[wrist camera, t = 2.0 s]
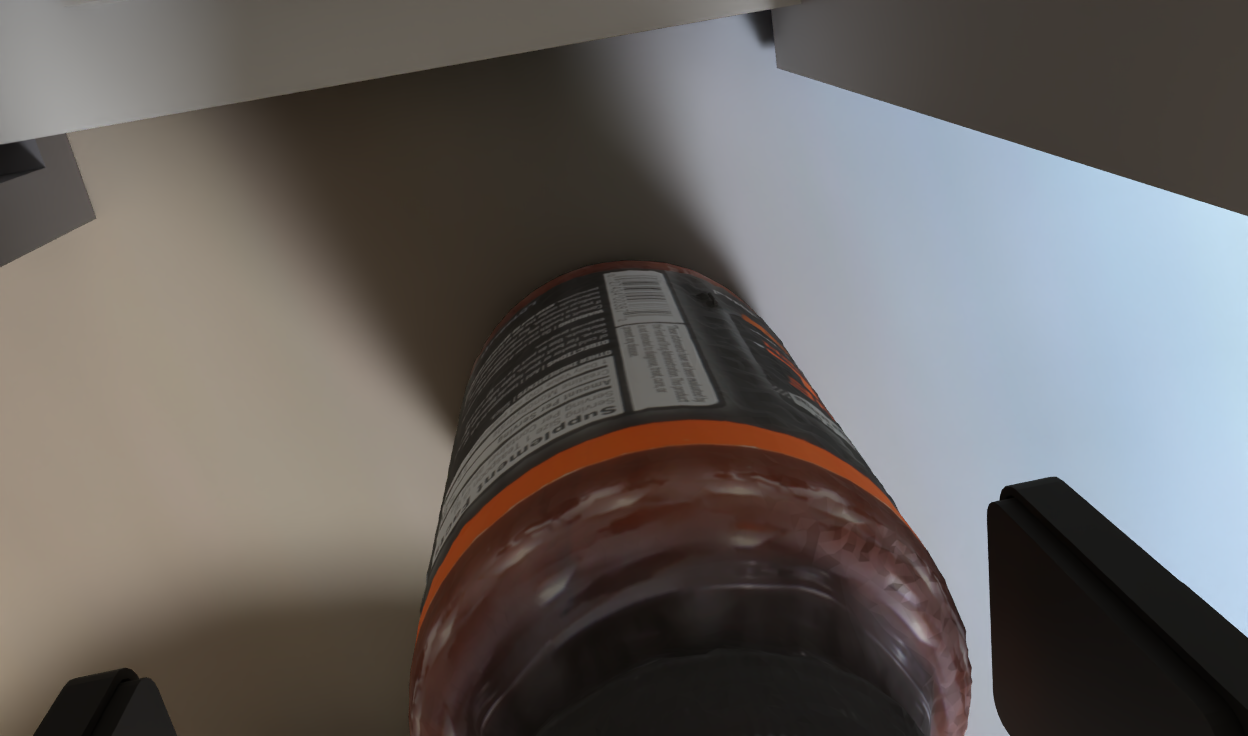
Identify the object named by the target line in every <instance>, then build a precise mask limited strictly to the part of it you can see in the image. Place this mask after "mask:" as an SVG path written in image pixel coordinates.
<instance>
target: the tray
mask: <svg viewBox="0 0 1248 736" xmlns="http://www.w3.org/2000/svg"><path fill="white" fill-rule="evenodd" d="M768 9H771V14H772V24H773V33H774V43H775V53H776V62H777V68H779V69H782V70H785V71H788V72H792V73H795V74H798V75H801V76H804V77H808V78H811V79H814V80H817V81H820V82H823V83H827V84H830V85H833V86H836V87H839V88H843V89H846V90H849V91H852V92H855V93H858V94H862V95H865V96H868V97H871V98H874V99H878V100H881V101H884V102H887V103H890V104H893V105H897V106H900V107H903V108H906V109H909V110H912V111H916V112H919V113H922V114H925V115H928V116H932V117H935V118H938V119H941V120H944V121H947V122H951V123H954V124H957V125H960V126H963V127H967V128H970V129H973V130H976V131H979V132H982V133H986V134H989V135H992V136H995V137H998V138H1002V139H1005V140H1008V141H1011V142H1014V143H1017V144H1021V145H1024V146H1027V147H1030V148H1033V149H1036V150H1040V151H1043V152H1046V153H1049V154H1052V155H1056V156H1059V157H1062V158H1065V159H1068V160H1071V161H1075V162H1078V163H1081V164H1084V165H1087V166H1091V167H1094V168H1097V169H1100V170H1103V171H1106V172H1110V173H1113V174H1116V175H1119V176H1122V177H1126V178H1129V179H1132V180H1135V181H1138V182H1141V183H1145V184H1148V185H1151V186H1154V187H1157V188H1160V189H1164V190H1167V191H1170V192H1173V193H1176V194H1180V195H1183V196H1186V197H1189V198H1192V199H1195V200H1199V201H1202V202H1205V203H1208V204H1211V205H1215V206H1218V207H1221V208H1224V209H1227V210H1230V211H1234V212H1237V213H1240V214H1243V215H1246V216H1248V0H0V144H6V143H12V142H18V141H23V140H29V139H35V138H40V137H46V136H52V135H57V134H63V133H69V132H74V131H80V130H86V129H91V128H97V127H103V126H109V125H114V124H120V123H126V122H131V121H137V120H143V119H148V118H154V117H160V116H165V115H171V114H177V113H182V112H188V111H194V110H200V109H205V108H211V107H217V106H222V105H228V104H234V103H239V102H245V101H251V100H256V99H262V98H268V97H274V96H279V95H285V94H291V93H296V92H302V91H308V90H313V89H319V88H325V87H330V86H336V85H342V84H347V83H353V82H359V81H365V80H370V79H376V78H382V77H387V76H393V75H399V74H404V73H410V72H416V71H421V70H427V69H433V68H438V67H444V66H450V65H456V64H461V63H467V62H473V61H478V60H484V59H490V58H495V57H501V56H507V55H512V54H518V53H524V52H530V51H535V50H541V49H547V48H552V47H558V46H564V45H569V44H575V43H581V42H586V41H592V40H598V39H603V38H609V37H615V36H621V35H626V34H632V33H638V32H643V31H649V30H655V29H660V28H666V27H672V26H677V25H683V24H689V23H694V22H700V21H706V20H712V19H717V18H723V17H729V16H734V15H740V14H746V13H751V12H757V11H763V10H768Z"/></svg>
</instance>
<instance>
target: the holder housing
mask: <svg viewBox="0 0 1248 736" xmlns="http://www.w3.org/2000/svg"><path fill="white" fill-rule="evenodd" d="M94 219H96V216H95V213H94V211H93V208H92V205H91V202H90V199H89V197H88V194H87V191H86V188H85V186H84V183H83V180H82V177H81V174H80V172H79V169H78V166H77V163H76V160H75V158H74V155H73V152H72V149H71V146H70V144H69V141H68V138H67V135H66V133H63V134H57V135H52V136H46V137H40V138H35V139H29V140H23V141H18V142H12V143H6V144H0V267H2V266H4V265H6V264H8V263H10V262H11V261H13V260H15V259H17V258H19V257H21V256H23V255H25V254H27V253H29V252H31V251H33V250H35V249H37V248H39V247H41V246H43V245H45V244H47V243H49V242H51V241H53V240H55V239H57V238H59V237H61V236H63V235H65V234H66V233H68V232H70V231H72V230H74V229H76V228H78V227H80V226H82V225H84V224H86V223H88V222H90V221H92V220H94Z"/></svg>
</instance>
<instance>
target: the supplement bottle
mask: <svg viewBox="0 0 1248 736" xmlns="http://www.w3.org/2000/svg"><path fill="white" fill-rule="evenodd" d="M971 669H972V667H971V664H970V661H969V658H968V648H967V645H966V630H965V627H964V625H963V622H962V620H961V618H960V615H959V613H958V611H957V608H956V606H955V603H954V601H953V598H952V596H951V594H950V592H949V590H948V587H947V584H946V581H945V579H944V577H943V576H942V574H941V573H940V571H939V570H938V568H937V566H936V565H935V563H934V561H933V559H932V557H931V556H930V554H929V552H928V551H927V550H926V548H925V547H924V545H923V544H922V543H921V541H920V540H919V538H918V537H917V536H916V534H915V533H914V532H913V530H912V529H911V528H910V526H909V525H908V524H907V522H906V521H905V520H904V518H903V517H902V516H901V514H900V513H899V511H898V509H897V507H896V505H895V503H894V501H893V499H892V498H891V496H890V495H888V494H887V492H886V491H885V489H884V487H883V485H882V484H881V483H880V482H879V480H878V479H877V478H876V476H875V475H874V474H873V473H872V471H871V469H870V468H869V467H868V465H867V464H866V462H865V461H864V459H863V458H862V457H861V455H860V454H859V452H858V451H857V450H856V448H855V447H854V445H853V444H852V443H851V441H850V440H849V439H848V437H847V436H846V435H845V434H844V432H843V430H842V429H841V427H840V426H839V424H838V423H836V421H835V420H834V418H833V417H832V415H831V414H830V413H829V412H828V410H827V409H826V407H825V406H824V404H823V403H822V401H821V400H820V398H819V397H818V394H817V393H816V392H815V390H814V389H813V388H812V387H811V385H810V384H809V382H808V381H807V379H806V378H805V376H804V374H803V372H802V371H801V370H800V369H799V368H798V367H797V365H796V364H795V362H794V360H793V359H792V357H791V356H790V354H789V353H788V351H787V350H786V348H785V347H784V346H783V343H782V341H781V340H780V339H779V338H778V337H777V336H776V334H775V333H774V332H773V331H772V330H771V329H770V328H769V326H768V325H767V324H766V323H765V322H764V320H763V319H762V318H761V317H759V316H758V315H757V314H756V313H755V312H754V311H753V310H752V309H751V308H750V307H749V306H748V305H747V304H746V303H745V302H744V301H742V300H741V299H740V298H739V297H738V296H736V295H735V294H734V293H732V292H731V291H730V290H729V289H727V288H726V287H724V286H722V285H720V284H719V283H717V282H715V281H713V280H711V279H710V278H707V277H705V276H703V275H701V274H700V273H698V272H696V271H693V270H691V269H687V268H683V267H679V266H676V265H672V264H669V263H662V262H653V261H631V260H625V261H614V262H609V263H599V264H594V265H590V266H585V267H582V268H580V269H578V270H574V271H571V272H569V273H566V274H564V275H561V276H559V277H557V278H555V279H553V280H551V281H549V282H548V283H546V284H544V285H543V286H541V287H539V288H538V289H536V290H534V291H533V292H532V293H530V294H529V295H528V296H527V297H525V298H524V299H523V300H522V301H520V302H519V303H518V304H517V305H516V306H515V307H513V308H512V309H511V310H510V311H509V312H508V314H507V315H506V316H505V317H504V318H503V319H502V321H501V322H500V323H499V324H498V325H497V327H496V328H495V329H494V330H493V332H492V334H491V335H490V337H489V338H488V339H487V341H486V342H485V344H484V347H483V349H482V351H481V353H480V354H479V356H478V357H477V359H476V360H475V362H474V365H473V368H472V371H471V375H470V379H469V382H468V384H467V386H466V390H465V395H464V398H463V402H462V406H461V411H460V415H459V422H458V427H457V431H456V436H455V440H454V445H453V451H452V455H451V460H450V465H449V470H448V478H447V482H446V486H445V492H444V496H443V502H442V505H441V510H440V514H439V521H438V526H437V530H436V534H435V540H434V544H433V550H432V555H431V559H430V564H429V568H428V572H427V577H426V588H425V591H424V594H423V598H422V603H421V609H420V621H419V625H418V631H417V638H416V643H415V649H414V654H413V660H412V666H411V672H410V684H409V716H408V718H409V730H410V736H964V735H965V732H966V730H967V725H968V715H969V707H970V700H971V684H972V679H971Z"/></svg>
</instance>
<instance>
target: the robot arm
mask: <svg viewBox="0 0 1248 736" xmlns="http://www.w3.org/2000/svg"><path fill="white" fill-rule="evenodd" d="M987 531H988V560H989V589H990V617H991V646H992V675H993V695H994V701H995V706H996V709H997V712H998V715H999V717H1000V720H1001V722H1002V724H1003V726H1004V727H1005V729H1006V730H1007V732H1008V733H1009V735H1010V736H1248V638H1247V637H1246V636H1245V635H1244V634H1243V633H1241V632H1240V631H1239V630H1238V629H1237V628H1236V627H1234V626H1233V625H1232V624H1231V623H1230V622H1229V621H1227V620H1226V619H1225V618H1224V617H1223V616H1222V615H1220V614H1219V613H1218V612H1217V611H1216V610H1215V609H1213V608H1212V607H1211V606H1210V605H1209V604H1208V603H1206V602H1205V601H1204V600H1203V599H1202V598H1200V597H1199V596H1198V595H1197V594H1196V593H1195V592H1193V591H1192V590H1191V589H1190V588H1189V587H1188V586H1186V585H1185V584H1184V583H1182V582H1181V581H1179V580H1178V579H1177V578H1176V577H1175V576H1173V575H1172V574H1171V573H1170V572H1169V571H1168V570H1166V569H1165V568H1164V567H1163V566H1162V565H1161V564H1159V563H1158V562H1157V561H1156V560H1155V559H1154V558H1152V557H1151V556H1150V555H1149V554H1148V553H1147V552H1145V551H1144V550H1143V549H1142V548H1141V547H1140V546H1138V545H1137V544H1136V543H1135V542H1134V541H1133V540H1131V539H1130V538H1129V537H1128V536H1127V535H1126V534H1124V533H1123V532H1122V531H1121V530H1120V529H1119V528H1117V527H1116V526H1115V525H1114V524H1113V523H1112V522H1110V521H1109V520H1108V519H1107V518H1106V517H1104V516H1103V515H1102V514H1101V513H1100V512H1099V511H1097V510H1096V509H1095V508H1094V507H1093V506H1092V505H1090V504H1089V503H1088V502H1087V501H1086V500H1085V499H1083V498H1082V497H1081V496H1080V495H1079V494H1078V493H1076V492H1075V491H1074V490H1073V489H1072V488H1071V487H1069V486H1068V485H1067V484H1066V483H1065V482H1064V481H1062V480H1061V479H1059V478H1057V477H1048V478H1043V479H1038V480H1033V481H1028V482H1024V483H1019V484H1014V485H1009V486H1005V487H1004V488H1003V489H1002V491H1001V494H1000V501H995V502H991V503H990V504H989V506H988V509H987ZM33 736H177V734H176V732H175V729H174V727H173V725H172V722H171V720H170V717H169V715H168V712H167V710H166V707H165V705H164V703H163V700H162V698H161V695H160V693H159V690H158V688H157V686H156V684H155V682H153V681H152V680H151V679H150V678H147V677H146V678H141V679H139V678H138V676H137V674H136V673H135V672H134V671H133V670H132V669H128V668H122V669H118V670H113V671H108V672H103V673H98V674H93V675H88V676H84V677H79V678H75V679H72V680H70V681H69V682H68V683H67V684H66V685H65V686H64V687H63V689H62V690H61V692H60V694H59V695H58V697H57V698H56V700H55V702H54V703H53V705H52V706H51V708H50V710H49V711H48V713H47V714H46V716H45V718H44V719H43V721H42V722H41V724H40V725H39V727H38V729H37V730H36V732H35V733H34V735H33Z"/></svg>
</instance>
